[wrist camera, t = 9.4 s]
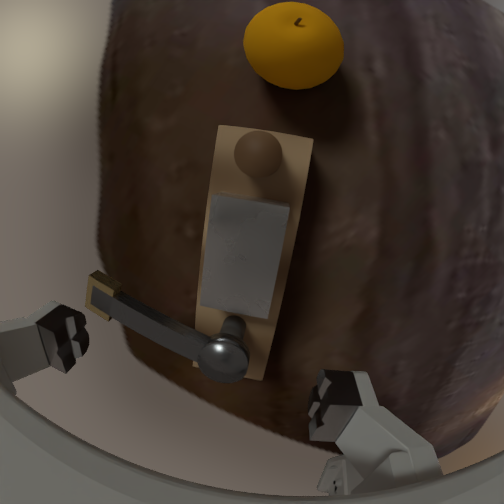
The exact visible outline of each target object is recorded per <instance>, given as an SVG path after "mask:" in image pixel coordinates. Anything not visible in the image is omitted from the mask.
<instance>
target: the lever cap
mask: <svg viewBox="0 0 504 504" xmlns="http://www.w3.org/2000/svg"><path fill="white" fill-rule="evenodd" d="M289 210H290V206H289V203H288V202H282V201H277V200H271V199H265V198H260V197H254V196H248V195H241V194H235V193H229V192H219V193H215V194H212V197H211V205H210V213H209V221H208V229H207V237H206V246H205V255H204V265H203V275H202V285H201V296H200V306H204V307H209V308H214V309H218V310H223V311H228V312H233V313H238V314H243V315H248V316H253V317H259V318H264V319H268V314H269V310H270V305H271V301H272V296H273V291H274V286H275V281H276V277H277V272H278V267H279V262H280V257H281V252H282V247H283V242H284V236H285V231H286V226H287V221H288V215H289Z"/></svg>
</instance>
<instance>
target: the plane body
mask: <svg viewBox="0 0 504 504" xmlns="http://www.w3.org/2000/svg"><path fill="white" fill-rule="evenodd" d="M312 146H313V139H310V138H305V137H300V136H295V135H289V134H284V133H278V132H272V131H265V130H258V129H251V128H243V127H234V126H225V125H219V127H218V133H217V139H216V146H215V152H214V158H213V165H212V172H211V179H210V186H209V193H208V201H207V208H206V216H205V225H204V233H203V242H202V252H201V261H200V272H199V283H198V294H197V307H196V321H195V330H197V331H199V332H201V333H203V334H205V335H208V336H211V335H213V334H217V333H229V334H232V335H235V336H237V337H239V338H240V339H242V340H243V341H244V342H245V343H246V344H247V346H248V348H249V350H250V360H249V365H248V370H247V373H246V375H245V376H244V378H250V379H255V380H261V381H262V379H263V376H264V372H265V368H266V364H267V360H268V356H269V353H270V349H271V345H272V341H273V336H274V332H275V328H276V324H277V320H278V316H279V311H280V307H281V303H282V299H283V294H284V290H285V285H286V281H287V276H288V272H289V267H290V262H291V258H292V253H293V248H294V243H295V238H296V233H297V228H298V223H299V218H300V213H301V208H302V203H303V197H304V192H305V186H306V181H307V175H308V169H309V164H310V158H311V152H312ZM219 192H229V193H235V194H241V195H248V196H254V197H260V198H265V199H271V200H277V201H282V202H288V203H289V206H290V210H289V215H288V221H287V226H286V231H285V236H284V242H283V247H282V252H281V257H280V262H279V267H278V272H277V277H276V281H275V286H274V291H273V296H272V301H271V305H270V310H269V314H268V319H264V318H259V317H253V316H248V315H243V314H238V313H233V312H228V311H223V310H218V309H214V308H209V307H204V306H200V296H201V285H202V275H203V265H204V255H205V246H206V237H207V229H208V221H209V213H210V205H211V197H212V194H215V193H219ZM193 366H194V367H198V368H199V366H198V363H197V362H195V361H193Z"/></svg>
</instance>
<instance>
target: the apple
mask: <svg viewBox="0 0 504 504" xmlns="http://www.w3.org/2000/svg"><path fill="white" fill-rule="evenodd" d="M243 44H244V49H245V53H246V57H247V60H248V61H249V63H250V64H251V66H252V67H253V69H254V71H255V72H256V73H257V74H259V75H260V76H261V77H262V78H264V79H265V80H266V81H268V82H270V83H272V84H274V85H277V86H279V87H281V88H288V89H294V90H298V89H307V88H312V87H314V86H317V85H319V84H322V83H324V82H325V81H327V80H328V79H329V78H330V77H331V76H333V75H334V74H335V73H336V71H337V70H338V68H339V66H340V64H341V62H342V61H343V57H344V42H343V39H342V37H341V34H340V31H339V29H338V27H337V26H336V25H335V24H334V22H333V21H332V20H331V19H330V17H329V16H327V15H326V14H325V13H323V12H322V11H320V10H319V9H317V8H315V7H312V6H310V5H307V4H303V3H297V2H285V3H278V4H275V5H272V6H269V7H267V8H265V9H264V10H262V11H261V12H259V13H258V14H256V15H255V16H254V18H253V19H252V20H251V22H250V23H249V24H248V26H247V27H246V30H245V35H244V41H243Z"/></svg>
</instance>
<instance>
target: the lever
mask: <svg viewBox="0 0 504 504" xmlns="http://www.w3.org/2000/svg"><path fill="white" fill-rule="evenodd" d="M121 287H122V284H121V283H119V282H117V281H116V280H114V279H112V278H111V277H109V276H107V275H106V274H104V273H102V272H101V271H99V270H97V271H95V272H94V273H92V274H90V275H89V279H88V286H87V294H86V303H85V307H86V308H88V309H89V310H91V311H93V312H94V313H96V314H97V315H99V316H100V317H102V318H103V319H105V320H107V321H110V320H111V319H112V318H114V319H115V320H117V321H119V322H120V323H122V324H124V325H126V326H127V327H129V328H131V329H133V330H134V331H136V332H138V333H140V334H142V335H143V336H145V337H147V338H149V339H151V340H153V341H155V342H156V343H158V344H160V345H162V346H164V347H166V348H168V349H170V350H172V351H174V352H176V353H178V354H180V355H182V356H184V357H187V358H189V359H191V360H193V361H195V362H197V363H198V366H199V368H200V370H201V371H202V372H203V374H205V375H206V376H207V377H208V378H210V379H212V380H214V381H217V382H221V383H233V382H236V381H239V380H241V379H242V378H243V377H244V376H245V375H246V373H247V370H248V365H249V360H250V350H249V348H248V346H247V344H246V343H245V342H244V341H243V340H242V339H240V338H239V337H237V336H235V335H232V334H229V333H217V334H213V335H211V336H208V335H205V334H203V333H201V332H199V331H197V330H195V329H193V328H191V327H189V326H186V325H184V324H182V323H180V322H178V321H176V320H174V319H172V318H170V317H168V316H166V315H164V314H163V313H161V312H159V311H157V310H155V309H153V308H151V307H149V306H147V305H146V304H144V303H142V302H140V301H138V300H136V299H135V298H133V297H131V296H129V295H127V294H126V293H124V292H122V291H121Z"/></svg>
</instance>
